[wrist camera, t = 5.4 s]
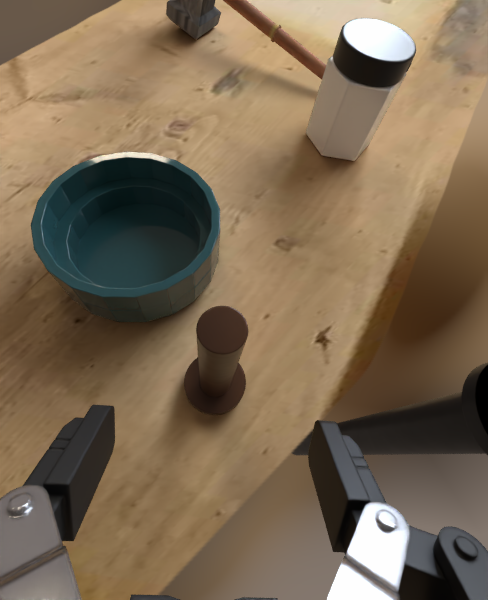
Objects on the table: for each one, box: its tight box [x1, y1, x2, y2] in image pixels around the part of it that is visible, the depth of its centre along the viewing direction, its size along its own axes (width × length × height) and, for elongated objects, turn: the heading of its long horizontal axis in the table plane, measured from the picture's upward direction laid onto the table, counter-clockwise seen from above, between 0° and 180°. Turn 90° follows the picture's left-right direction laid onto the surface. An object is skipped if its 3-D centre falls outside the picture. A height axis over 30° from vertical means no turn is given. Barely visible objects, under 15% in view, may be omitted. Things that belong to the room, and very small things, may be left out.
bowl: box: [31, 152, 220, 322], centre depth 31 cm, size 16×16×6 cm
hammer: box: [166, 0, 326, 79], centre depth 46 cm, size 6×16×30 cm
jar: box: [306, 18, 416, 161], centre depth 39 cm, size 9×8×12 cm
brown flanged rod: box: [184, 306, 248, 415], centre depth 23 cm, size 5×5×14 cm
